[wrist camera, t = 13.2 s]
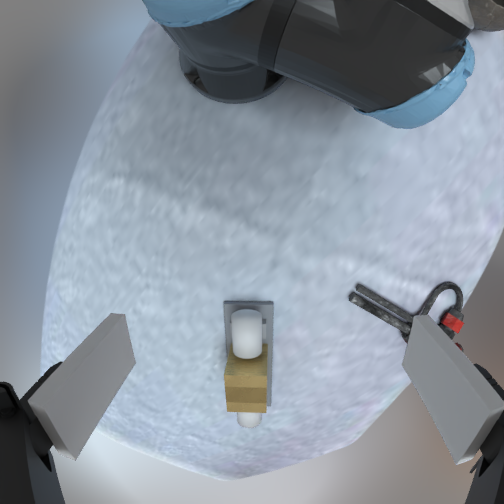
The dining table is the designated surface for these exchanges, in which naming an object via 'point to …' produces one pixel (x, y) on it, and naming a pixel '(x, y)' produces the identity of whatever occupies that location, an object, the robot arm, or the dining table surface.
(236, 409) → the cardboard box
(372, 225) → the dining table surface
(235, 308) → the shaft bed
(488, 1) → the bowl
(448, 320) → the valve
